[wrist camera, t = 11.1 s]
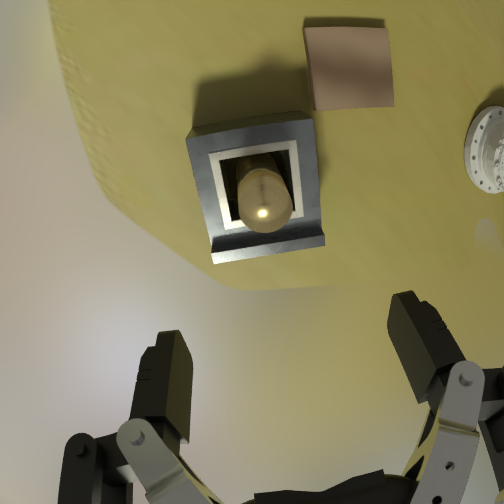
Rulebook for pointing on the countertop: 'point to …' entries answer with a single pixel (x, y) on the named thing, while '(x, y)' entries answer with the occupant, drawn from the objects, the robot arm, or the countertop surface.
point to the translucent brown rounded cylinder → (262, 194)
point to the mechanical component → (486, 150)
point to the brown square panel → (349, 67)
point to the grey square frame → (226, 210)
